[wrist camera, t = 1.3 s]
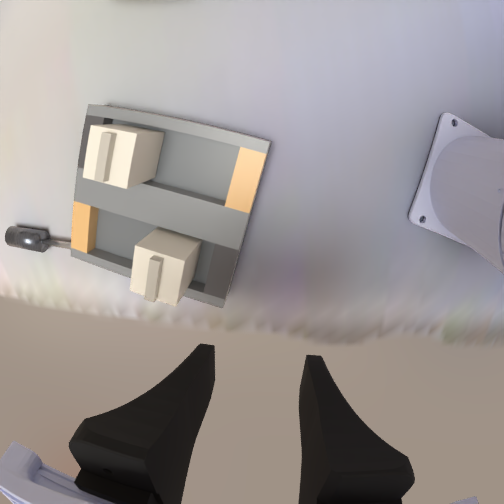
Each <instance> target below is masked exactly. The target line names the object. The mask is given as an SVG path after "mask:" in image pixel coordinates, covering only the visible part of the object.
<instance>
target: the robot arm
mask: <svg viewBox="0 0 504 504" xmlns="http://www.w3.org/2000/svg"><path fill="white" fill-rule="evenodd" d="M452 120H454V121H455V126H453V125H452ZM421 216H424V220H423V221H422V222H420V221H419V219H420V217H421ZM408 217H409V220H410V221H411V222H412V223H413V224H416V225H418V226H421V227H423V228H426V229H428V230H431V231H433V232H436V233H438V234H440V235H443V236H445V237H448V238H450V239H452V240H455V241H457V242H459V243H462V244H464V245H466V246H469V247H471V248H472V249H473V250H475V251H476V252H477V253H478V254H480V255H481V256H482V257H483V258H485V259H486V260H487V261H488V262H490V263H491V264H492V265H493V266H495V267H496V268H497V269H498V270H499V271H501V272H502V273H503V274H504V139H498V138H492V137H490V136H489V135H487V134H485V133H484V132H482V131H480V130H479V129H477V128H476V127H474V126H472V125H470V124H469V123H467V122H465V121H464V120H462V119H460V118H458V117H456V116H455V115H453V114H451V113H448V112H446V113H443V114H442V115H441V117H440V120H439V124H438V128H437V131H436V134H435V138H434V141H433V145H432V148H431V151H430V154H429V157H428V161H427V164H426V167H425V170H424V173H423V176H422V179H421V182H420V184H419V187H418V190H417V193H416V196H415V198H414V201H413V204H412V207H411V209H410V212H409V216H408ZM214 350H215V349H214V345H207V344H200V345H198V346H197V347H196V349H195V350H194V351H193V352H192V353H191V354H190V355H189V356H188V357H187V358H186V359H185V360H184V361H183V362H182V363H181V364H180V365H179V366H178V367H177V368H176V369H175V370H174V371H173V372H172V373H171V374H169V375H168V376H167V377H166V378H165V379H163V380H162V381H161V382H160V383H159V384H157V385H156V386H155V387H153V388H152V389H151V390H149V391H147V392H146V393H144V394H143V395H141V396H139V397H138V398H136V399H134V400H132V401H131V402H129V403H127V404H125V405H123V406H121V407H118V408H116V409H114V410H111V411H109V412H106V413H103V414H100V415H97V416H93V417H90V418H86V419H84V421H83V422H82V423H81V424H80V426H79V427H78V429H77V430H76V432H75V434H74V435H73V437H72V439H71V440H70V442H69V448H70V451H71V453H72V454H73V456H74V458H75V459H76V461H77V463H78V464H79V466H80V467H81V470H80V472H79V474H78V476H77V477H76V478H74V477H71V476H69V475H67V474H65V473H62V472H60V471H58V470H56V469H54V468H52V467H50V466H48V465H46V464H44V463H42V461H41V459H40V458H39V456H38V455H37V454H36V453H35V452H33V451H32V450H30V449H29V448H27V447H25V446H23V445H21V444H19V443H18V442H16V441H13V442H12V443H11V445H10V446H9V447H8V449H7V450H6V452H5V453H4V455H3V456H2V457H1V459H0V491H1V492H2V493H3V494H4V495H5V496H6V497H7V498H8V499H9V500H10V501H11V502H12V503H14V504H181V501H182V496H183V491H184V486H185V481H186V476H187V472H188V467H189V463H190V459H191V455H192V451H193V447H194V443H195V440H196V437H197V435H198V432H199V429H200V426H201V424H202V421H203V418H204V416H205V413H206V410H207V408H208V405H209V402H210V399H211V395H212V391H213V387H214V382H215V354H214V353H215V351H214ZM299 417H300V430H301V431H300V432H301V446H302V466H301V482H300V493H299V504H402V500H401V498H402V497H403V496H404V495H405V493H406V492H407V491H408V490H409V489H410V488H411V487H412V485H413V484H414V481H415V477H414V473H413V469H412V466H411V464H410V461H409V459H408V457H407V456H405V455H404V454H402V453H401V452H399V451H398V450H396V449H394V448H393V447H391V446H390V445H389V444H387V443H386V442H385V441H384V440H382V439H381V438H380V437H379V436H378V435H376V434H375V433H374V432H373V431H372V430H371V429H370V428H369V427H368V426H367V425H366V424H365V423H364V422H363V421H362V420H361V419H360V418H359V416H358V415H357V414H356V413H355V412H354V411H353V409H352V408H351V406H350V405H349V404H348V402H347V401H346V399H345V398H344V397H343V395H342V394H341V392H340V390H339V389H338V387H337V386H336V384H335V382H334V381H333V379H332V377H331V375H330V373H329V371H328V369H327V367H326V365H325V362H324V360H323V358H322V357H321V356H316V355H306V360H305V365H304V370H303V375H302V380H301V385H300V395H299ZM451 504H478V500H477V497H475V496H474V497H471V498H467V499H463V500H460V501H456V502H453V503H451Z"/></svg>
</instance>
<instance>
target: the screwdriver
mask: <svg viewBox="0 0 504 504" xmlns="http://www.w3.org/2000/svg"><path fill="white" fill-rule="evenodd" d="M5 241H6V243H7V245H9V246H13V247H18V248H23V249H28V250H33V251H38V252H45V251H46V250H47V249H48V247H49V246H55V247H61V248H67V249H71V243H69V242H63V241H56V240H50V236H49V234H48V232H47V231H43V230H36V229H29V228H22V227H15V226H11V227H9V228H8V229H7V231H6V234H5ZM97 249H99V248H97Z"/></svg>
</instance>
